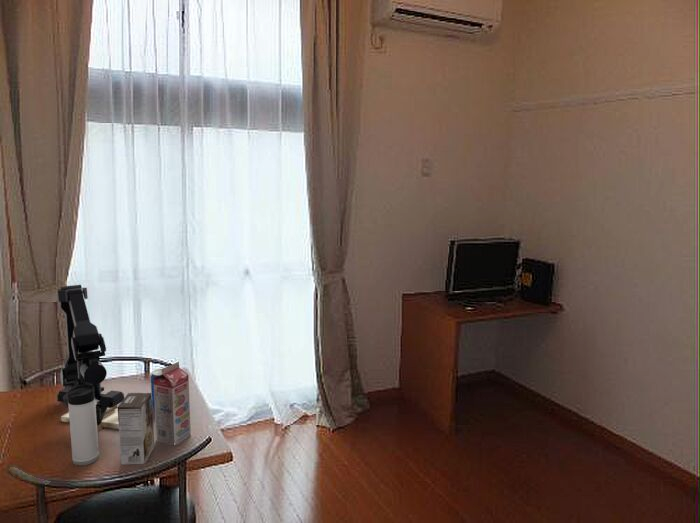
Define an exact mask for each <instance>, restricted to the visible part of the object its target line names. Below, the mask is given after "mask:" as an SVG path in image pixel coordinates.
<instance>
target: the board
mask: <svg viewBox="0 0 700 523" xmlns="http://www.w3.org/2000/svg"><path fill="white" fill-rule="evenodd" d="M107 409H108V408H107ZM61 421H62V422H63V423H69V422H70V420H69V411H68V412H67V413H65V414H63V415H61V416H60V422H61ZM107 427H108V429H109V428H110V429H115V430H119V423H118V408H117V409H115V411H112V412H110V413H109V414H107V415H106V416H104V417H103V419H102V428H107Z"/></svg>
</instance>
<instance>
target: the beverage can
mask: <svg viewBox="0 0 700 523" xmlns="http://www.w3.org/2000/svg"><path fill="white" fill-rule="evenodd" d="M161 369H162V368H158V369H155V370H153V371H152V372H151V375H150V389H151V391H150V393H151V397H152V409H153V408H154V409H155V401H154V381H153V379H154V378H155V377H157V376H159V375H162V370H161Z"/></svg>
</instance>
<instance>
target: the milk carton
mask: <svg viewBox="0 0 700 523" xmlns="http://www.w3.org/2000/svg"><path fill="white" fill-rule="evenodd" d="M160 369H161V370H162V375H159V376H157V377H155V378H154V379H153V381H154V401H155V408H154V417H155V418H154V420H155V436H156V438H155V439H156V440H155V441H156V442H159V443H161V444H162V443H163V444H167V445H171V446H174V443H175V446H177V445H178V444H180V443H182V442H183V441H184V440H186V439H189V437H191V432H192V431H191V430H192V429H191V406H190V404H191V403H190V384H189V383H190V382H189V378H190V376H189V374H188V373H187V372H186V371H185V370H183V368H181V367H180V361H177V362H175V363H174V362H173V363H172V364H170V365H167V366H165V367H163V368H160ZM176 444H177V445H176ZM175 446H174V447H175Z"/></svg>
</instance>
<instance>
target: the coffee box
mask: <svg viewBox="0 0 700 523" xmlns="http://www.w3.org/2000/svg"><path fill="white" fill-rule="evenodd" d="M117 408H118V423H119V429H118V435H119V437H118V438H119V453H120V464H121V465H145V464H146V463H147V461H148V459H149V458H150V455H151V453H152V451H153V450H154V448H155V435H154V434H155V433H154V432H155V431H154V418H153V417H154V416H153V407H152V392H128V393H127V394H126V396H124V399H123V401H122V402H121V403H119V404H118V405H117Z"/></svg>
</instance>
